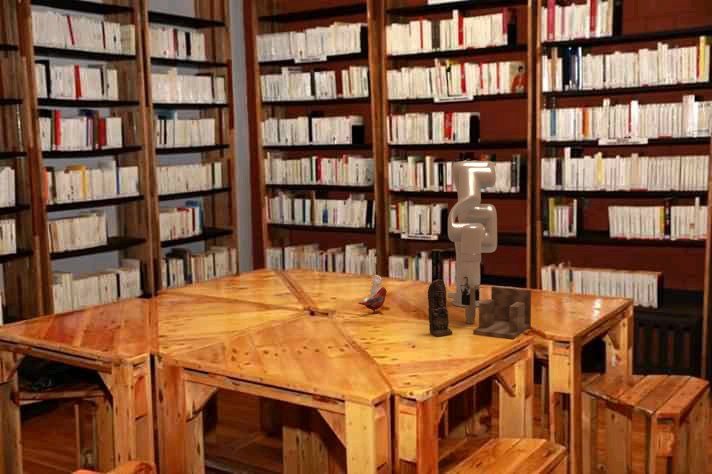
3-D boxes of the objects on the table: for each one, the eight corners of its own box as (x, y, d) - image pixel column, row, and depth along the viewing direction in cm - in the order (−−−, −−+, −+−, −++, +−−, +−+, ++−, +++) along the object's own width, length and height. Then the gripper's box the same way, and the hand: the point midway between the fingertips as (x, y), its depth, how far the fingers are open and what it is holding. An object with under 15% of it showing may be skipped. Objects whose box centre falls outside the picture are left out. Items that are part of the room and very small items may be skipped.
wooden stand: (473, 334, 291) (473, 296, 289) (492, 322, 308) (492, 286, 306) (513, 339, 284) (514, 300, 282) (530, 326, 301) (531, 289, 299)
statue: (437, 337, 287) (437, 282, 285) (426, 332, 294) (426, 278, 291) (453, 334, 291) (453, 280, 288) (442, 330, 297) (442, 277, 294)
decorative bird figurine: (389, 310, 329) (389, 286, 328) (360, 318, 316) (360, 293, 315) (384, 309, 331) (384, 285, 330) (355, 317, 318) (354, 292, 317)
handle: (476, 325, 304) (476, 286, 302) (460, 323, 307) (460, 284, 305) (480, 322, 308) (480, 284, 306) (464, 320, 311) (464, 282, 309)
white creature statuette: (361, 304, 342) (360, 276, 340) (368, 300, 350) (368, 272, 348) (382, 305, 339) (382, 277, 337) (389, 301, 346) (389, 274, 345)
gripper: (470, 254, 313) (469, 298, 315) (452, 260, 298) (452, 305, 300) (488, 255, 310) (487, 299, 311) (471, 261, 295) (471, 307, 296)
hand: (470, 302), depth 306 cm, fingers open, 9 cm apart
